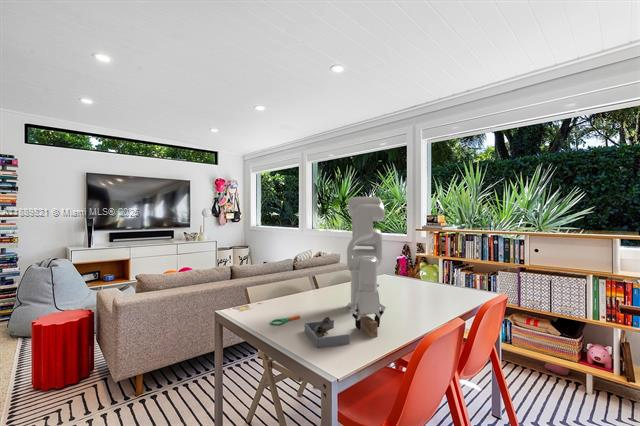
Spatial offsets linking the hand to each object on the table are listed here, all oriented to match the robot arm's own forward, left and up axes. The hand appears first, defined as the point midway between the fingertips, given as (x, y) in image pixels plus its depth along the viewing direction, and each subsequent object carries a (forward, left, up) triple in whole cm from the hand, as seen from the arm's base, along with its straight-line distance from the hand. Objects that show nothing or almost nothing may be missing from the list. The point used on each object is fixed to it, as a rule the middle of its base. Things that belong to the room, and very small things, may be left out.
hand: (367, 327), depth 134 cm
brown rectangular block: (0, 0, -2) cm, 2 cm away
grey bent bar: (+19, 0, -2) cm, 19 cm away
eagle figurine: (+19, -3, -2) cm, 20 cm away
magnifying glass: (+31, -23, -3) cm, 39 cm away
